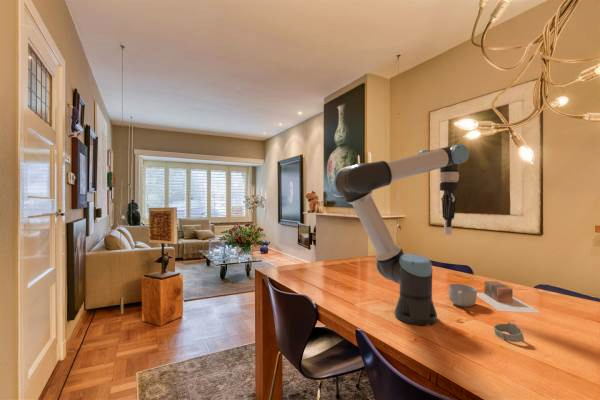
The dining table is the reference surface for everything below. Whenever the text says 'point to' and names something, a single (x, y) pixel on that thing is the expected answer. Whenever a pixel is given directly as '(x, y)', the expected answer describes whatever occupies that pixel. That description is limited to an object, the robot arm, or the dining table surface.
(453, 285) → the teacup
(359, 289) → the dining table surface
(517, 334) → the wristwatch
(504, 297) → the walnut block
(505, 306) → the mat
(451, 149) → the robot arm
